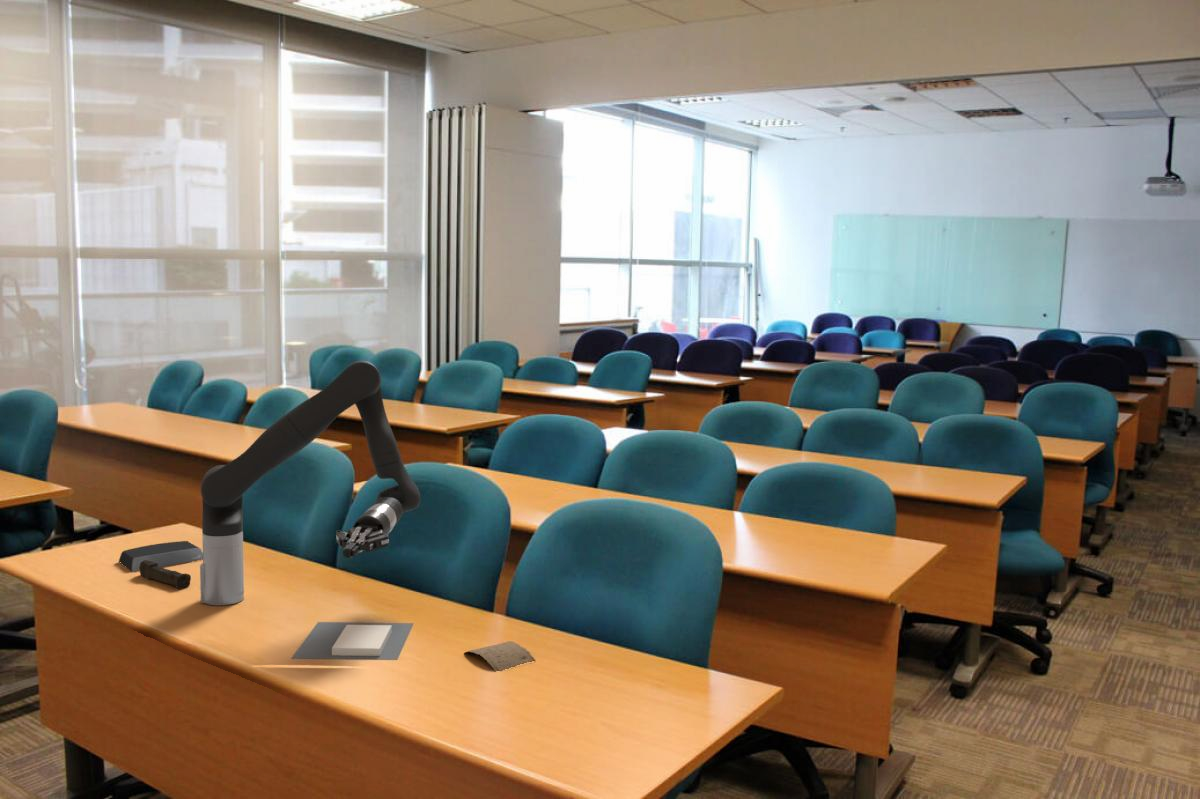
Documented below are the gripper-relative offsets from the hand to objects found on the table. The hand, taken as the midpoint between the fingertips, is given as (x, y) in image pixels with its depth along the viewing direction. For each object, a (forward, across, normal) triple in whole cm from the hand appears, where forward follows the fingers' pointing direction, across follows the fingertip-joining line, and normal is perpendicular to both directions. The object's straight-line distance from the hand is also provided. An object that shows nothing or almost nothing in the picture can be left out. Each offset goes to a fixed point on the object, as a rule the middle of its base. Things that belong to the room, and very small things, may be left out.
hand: (347, 554), depth 209 cm
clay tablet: (+6, +35, +19) cm, 40 cm away
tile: (-2, +4, +19) cm, 19 cm away
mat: (+3, +2, +19) cm, 20 cm away
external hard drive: (-44, -73, +29) cm, 90 cm away
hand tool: (-27, -62, +26) cm, 73 cm away
